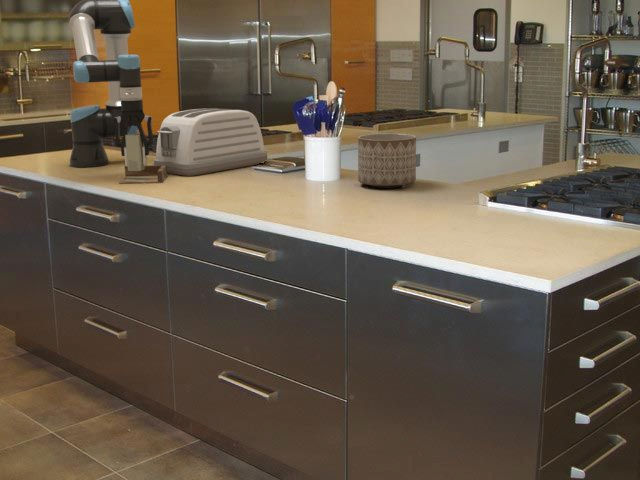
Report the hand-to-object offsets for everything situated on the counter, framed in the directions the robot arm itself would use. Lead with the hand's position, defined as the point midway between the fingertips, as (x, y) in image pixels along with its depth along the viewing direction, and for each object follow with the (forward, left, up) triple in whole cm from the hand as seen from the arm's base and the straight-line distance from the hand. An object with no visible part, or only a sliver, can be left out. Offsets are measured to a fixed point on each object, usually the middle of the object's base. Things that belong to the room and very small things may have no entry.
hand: (136, 164), depth 317 cm
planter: (+24, +87, -6) cm, 90 cm away
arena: (-1, +2, -6) cm, 6 cm away
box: (0, 0, -2) cm, 2 cm away
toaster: (-26, +24, -6) cm, 36 cm away
